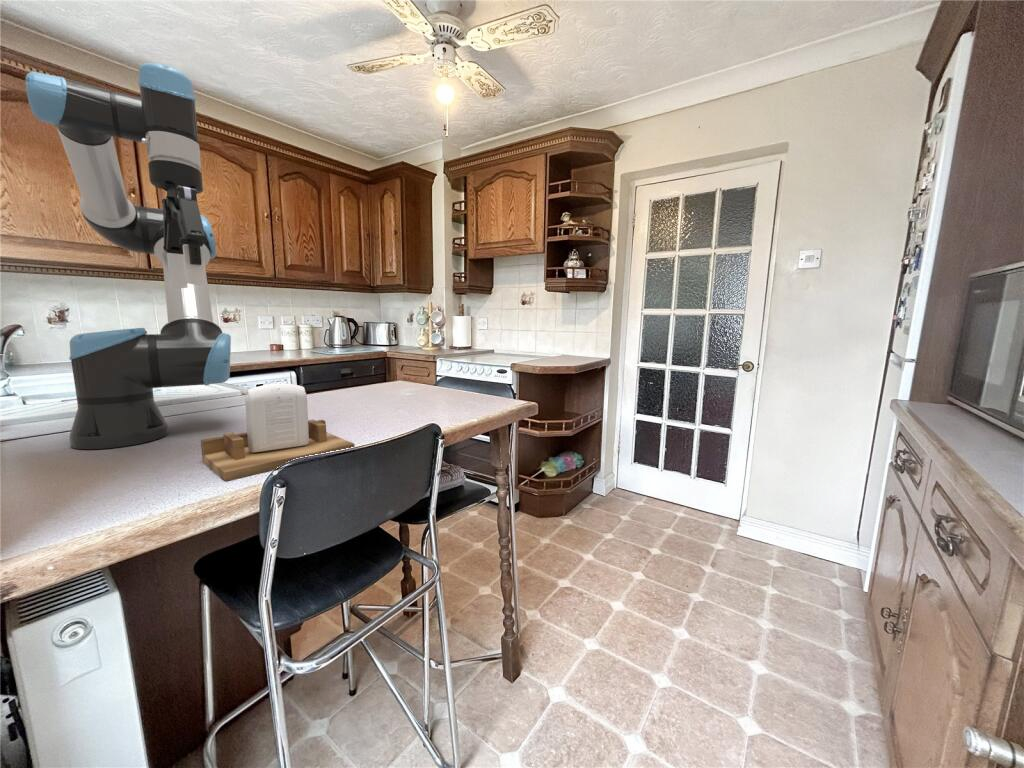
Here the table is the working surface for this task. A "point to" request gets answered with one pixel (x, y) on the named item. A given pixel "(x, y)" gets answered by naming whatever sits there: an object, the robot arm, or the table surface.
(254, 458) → the ledge shelf
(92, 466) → the table surface
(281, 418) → the photo printer
